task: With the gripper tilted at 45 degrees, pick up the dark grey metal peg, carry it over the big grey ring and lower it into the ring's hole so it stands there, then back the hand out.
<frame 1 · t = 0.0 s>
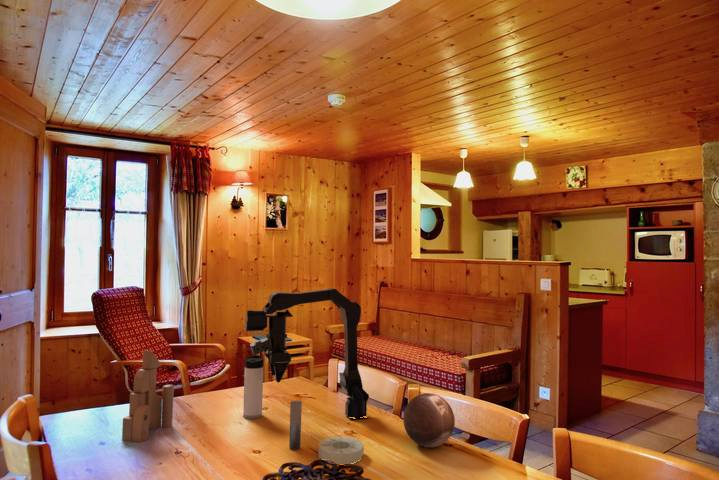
hand: (275, 378, 158), 15 cm above the table, tool pointing down, fingers open, 9 cm apart
travel mug: (252, 416, 165), on the table
metal peg: (294, 447, 138), on the table
grey ring: (340, 456, 133), on the table
wooden sphere: (428, 446, 142), on the table
wooden toy: (149, 433, 147), on the table
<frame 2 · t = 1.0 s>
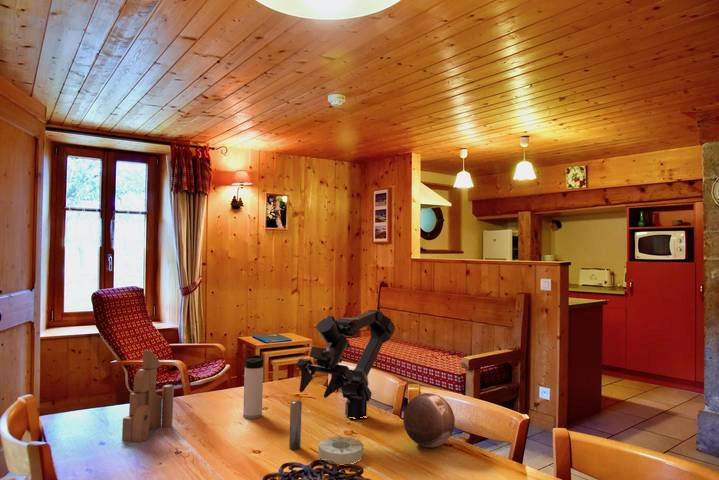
hand: (312, 394, 146), 13 cm above the table, tool tilted 45°, fingers open, 9 cm apart
nothing on the table moved.
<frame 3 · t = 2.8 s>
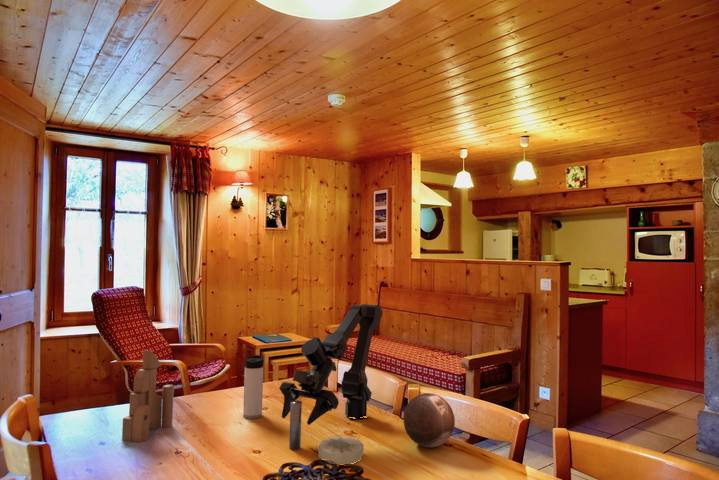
hand: (295, 420, 138), 8 cm above the table, tool tilted 45°, fingers open, 9 cm apart
nothing on the table moved.
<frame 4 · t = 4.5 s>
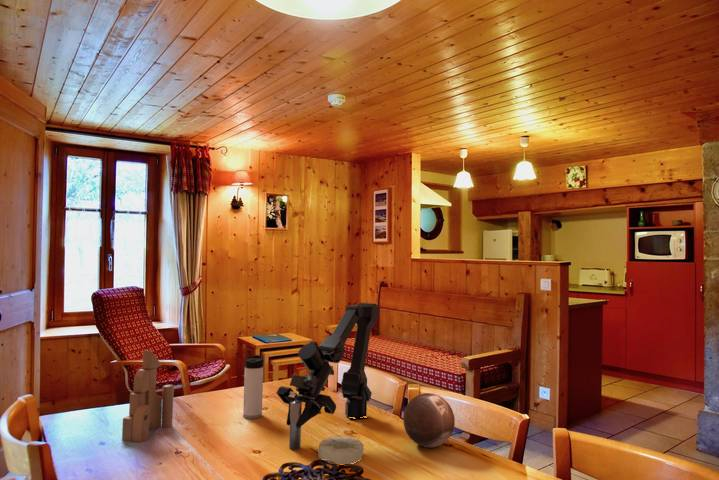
hand: (292, 426, 137), 7 cm above the table, tool tilted 45°, fingers closed on metal peg, 3 cm apart
metal peg: (294, 447, 138), on the table, touching gripper
everything else where it was.
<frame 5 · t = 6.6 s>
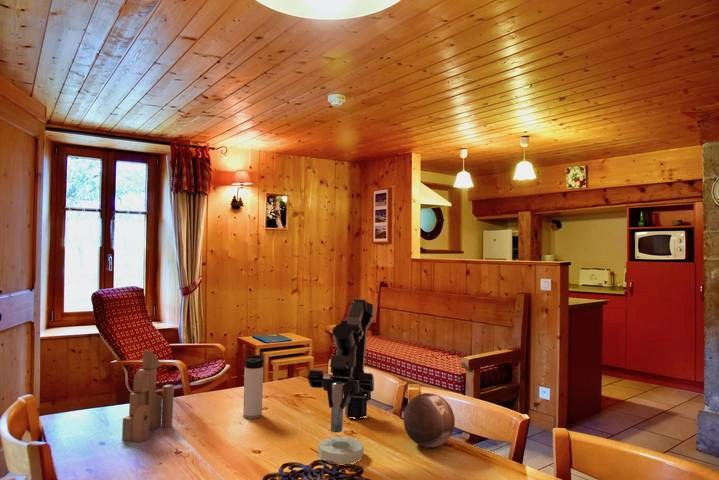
hand: (336, 407, 133), 13 cm above the table, tool tilted 45°, fingers closed on metal peg, 3 cm apart
metal peg: (336, 430, 134), point 7 cm above the table, touching gripper
everything else where it was.
when the fingers open (8 cm above the table, at t = 8.7 s): metal peg drops 1 cm, on the table.
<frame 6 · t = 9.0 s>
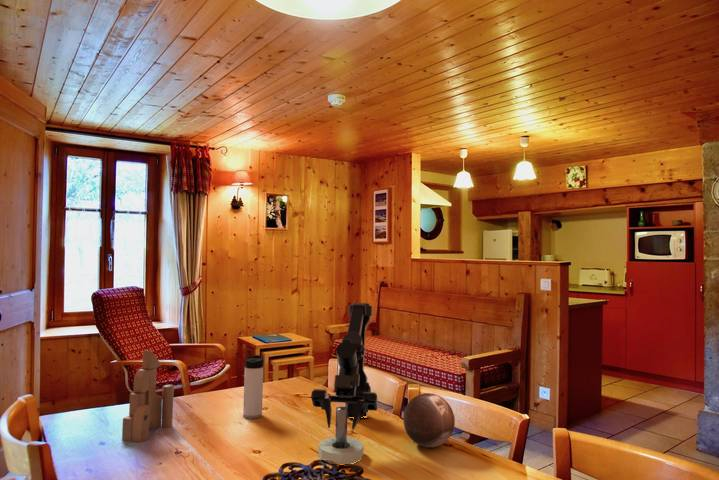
hand: (340, 428, 132), 8 cm above the table, tool tilted 45°, fingers open, 6 cm apart
metal peg: (340, 456, 133), on the table
everything else where it was.
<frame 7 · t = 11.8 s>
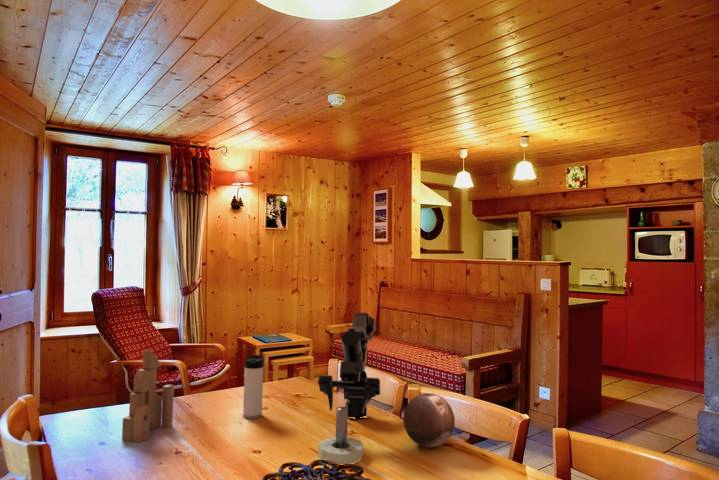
hand: (346, 410, 142), 10 cm above the table, tool tilted 45°, fingers open, 9 cm apart
nothing on the table moved.
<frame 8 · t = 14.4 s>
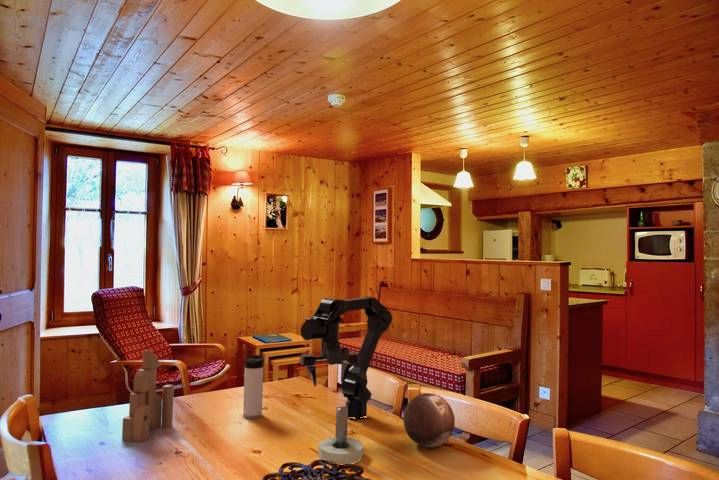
hand: (328, 385, 157), 13 cm above the table, tool pointing down, fingers open, 9 cm apart
nothing on the table moved.
at the end: metal peg 0.0 cm from the grey ring (horizontally); metal peg on the table; metal peg tilted 0° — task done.
